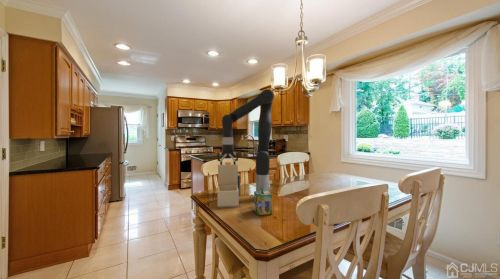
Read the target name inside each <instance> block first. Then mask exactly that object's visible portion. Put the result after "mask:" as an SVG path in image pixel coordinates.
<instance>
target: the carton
mask: <svg viewBox="0 0 500 279" xmlns="http://www.w3.org/2000/svg"><path fill="white" fill-rule="evenodd" d="M217 187H218V188H217V209H218V208H220V209H222V208H239V207H240V206H239V205H240V200H239V199H240V196H239V190H238V185H218V184H217Z"/></svg>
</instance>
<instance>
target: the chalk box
mask: <svg viewBox="0 0 500 279" xmlns="http://www.w3.org/2000/svg"><path fill="white" fill-rule="evenodd" d="M260 188H261V191H256V190H255V191H254V192H253V194H254V195H253V198H254V199H253V203H254V206H253V210H254V212H255V215H256V216H267V215H273V194H272V193H271V191H270V192H269V191H263V189H262V187H261V186H260Z"/></svg>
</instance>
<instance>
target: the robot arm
mask: <svg viewBox="0 0 500 279" xmlns="http://www.w3.org/2000/svg"><path fill="white" fill-rule="evenodd" d="M274 98H275V94H274V92H273V91H272V89H269V88H266V89H264V90H262V92H260V93H259V94H258V95H256V97H254V98H253V99H251V100H250V101H247V102H246V103H244V104H243V105H241V106H239V107H237V108H236V109H235V110H233V111H232V112H230V113H229V114H224V115H223V116H222V117H221V125H222V127H221V128H222V140H221V141H222V146H221V148H222V151H221V152H219V151H218V152H217V161H218V162H219V165H223V160H224V159H231V160H232V161H233V162H232V163H233V164H232V165H237V164H236V162H237V161H239V153H238V151H236V152H234V131H233V124H234V123H235V122H237V121H238V120H241V119H242V118H243V117H245V116H247V115H248V114H250V113H251V112H253V111H254V110H255V109H257V108H259V107H260V113H259V118H258V125H257V126H258V127H257V139H258V140H257V142H258V144H257V146H258V147H257V151H256V156H255V191H261V188H260V186H261V187H262V189H263V191H269V192H270V193H271V190H270V188H271V186H270V150H269V148H270V147H269V145H270V139H271V135H272V125H273V123H272V121H273V120H272V106H273V101H274ZM221 155H222V157H220V156H221ZM234 156H235V158H234ZM220 158H221V159H220Z"/></svg>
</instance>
